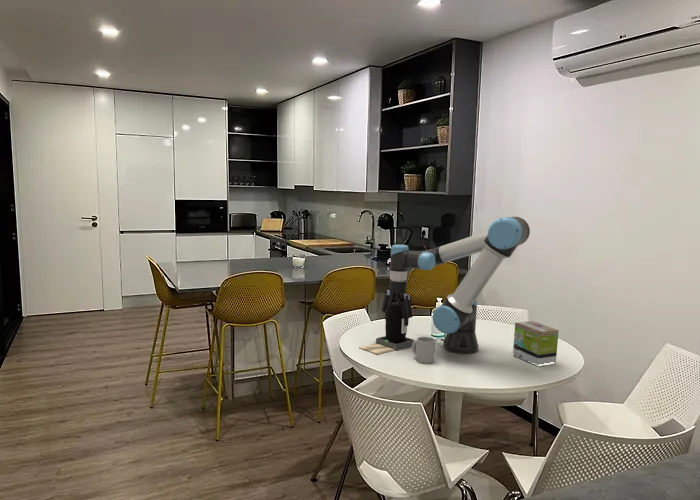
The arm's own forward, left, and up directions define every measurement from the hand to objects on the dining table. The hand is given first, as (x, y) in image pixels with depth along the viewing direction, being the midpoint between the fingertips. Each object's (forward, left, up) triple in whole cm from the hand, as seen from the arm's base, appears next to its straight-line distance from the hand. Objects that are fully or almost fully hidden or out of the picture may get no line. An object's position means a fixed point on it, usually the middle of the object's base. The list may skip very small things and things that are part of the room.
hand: (396, 330), depth 228 cm
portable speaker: (0, 0, -7) cm, 7 cm away
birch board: (0, +12, -6) cm, 13 cm away
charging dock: (0, 0, -6) cm, 6 cm away
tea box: (-49, -31, -7) cm, 58 cm away
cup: (-21, +7, -7) cm, 23 cm away
